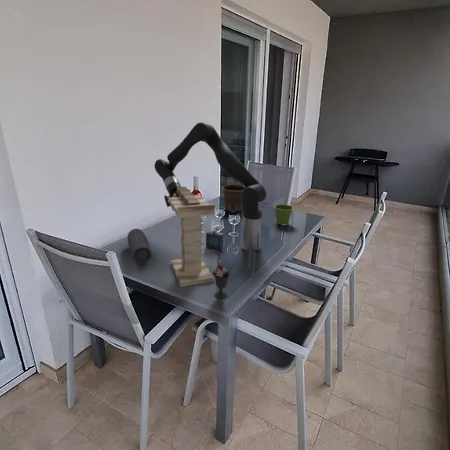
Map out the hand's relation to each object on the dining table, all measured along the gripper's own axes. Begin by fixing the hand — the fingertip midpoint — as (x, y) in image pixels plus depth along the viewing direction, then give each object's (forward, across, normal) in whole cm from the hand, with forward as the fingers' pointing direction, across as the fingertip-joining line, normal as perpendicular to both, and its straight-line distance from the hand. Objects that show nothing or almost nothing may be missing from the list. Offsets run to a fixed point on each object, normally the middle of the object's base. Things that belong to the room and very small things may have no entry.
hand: (183, 208), depth 159 cm
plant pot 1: (-24, +44, +45) cm, 67 cm away
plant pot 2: (+8, +62, +31) cm, 70 cm away
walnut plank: (+15, -3, -22) cm, 27 cm away
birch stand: (+35, -9, +3) cm, 36 cm away
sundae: (+54, -4, -6) cm, 54 cm away
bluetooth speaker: (+11, -27, +12) cm, 32 cm away
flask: (+20, +9, +15) cm, 26 cm away
